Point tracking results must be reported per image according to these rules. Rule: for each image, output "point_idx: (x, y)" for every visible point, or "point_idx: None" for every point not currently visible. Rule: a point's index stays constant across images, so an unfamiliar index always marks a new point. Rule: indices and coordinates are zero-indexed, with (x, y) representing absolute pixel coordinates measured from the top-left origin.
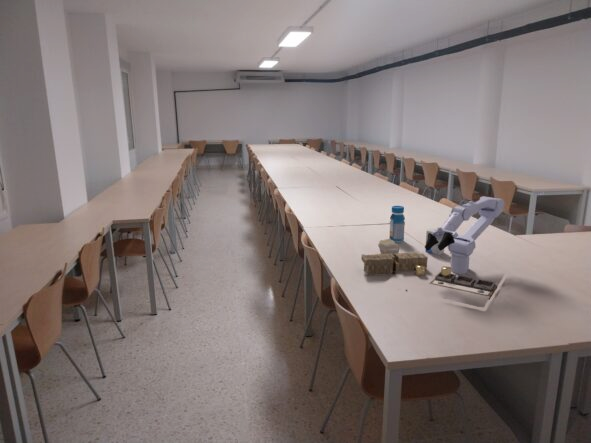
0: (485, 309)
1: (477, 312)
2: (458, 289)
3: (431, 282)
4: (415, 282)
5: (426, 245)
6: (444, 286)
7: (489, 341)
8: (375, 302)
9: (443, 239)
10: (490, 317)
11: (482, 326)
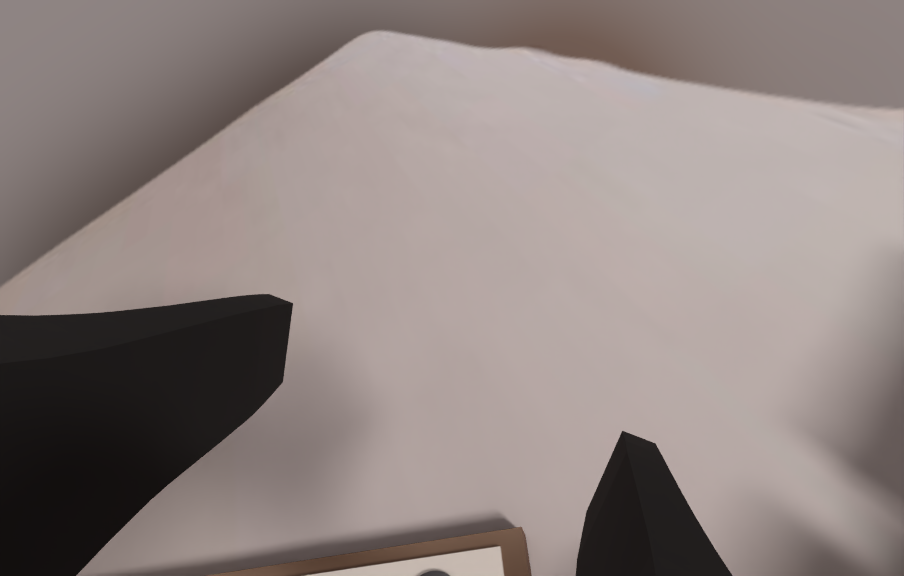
0: None
1: None
2: (267, 573)
3: (517, 567)
4: None
5: (625, 455)
6: (383, 554)
7: (146, 214)
8: (620, 137)
9: (78, 316)
10: None
11: (156, 274)
